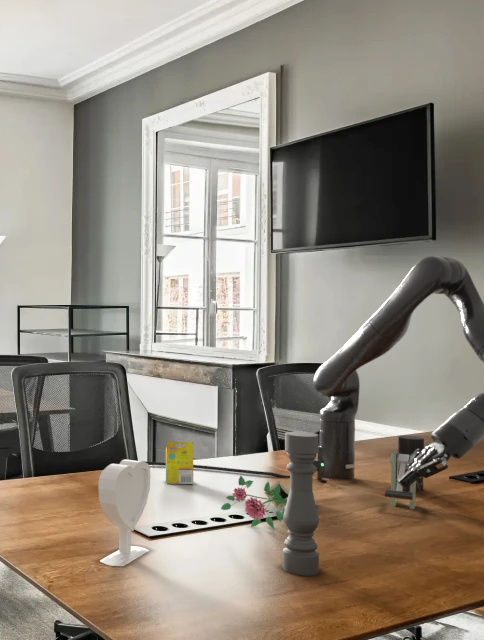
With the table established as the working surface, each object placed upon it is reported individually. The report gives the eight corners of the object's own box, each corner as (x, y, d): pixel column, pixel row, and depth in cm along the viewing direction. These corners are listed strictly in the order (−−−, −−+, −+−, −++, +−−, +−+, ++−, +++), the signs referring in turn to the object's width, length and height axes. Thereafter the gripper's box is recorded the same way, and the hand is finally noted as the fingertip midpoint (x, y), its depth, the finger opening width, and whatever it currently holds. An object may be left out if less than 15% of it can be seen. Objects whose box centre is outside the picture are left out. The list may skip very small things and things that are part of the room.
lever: (412, 502, 166) (412, 494, 165) (385, 499, 169) (384, 490, 168) (417, 463, 178) (417, 455, 177) (391, 460, 181) (391, 452, 180)
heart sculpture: (118, 569, 135) (119, 471, 135) (94, 563, 138) (94, 467, 138) (153, 548, 148) (154, 458, 148) (130, 543, 151) (131, 455, 151)
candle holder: (276, 564, 139) (277, 431, 138) (308, 563, 139) (309, 431, 139) (292, 575, 132) (293, 436, 132) (325, 575, 133) (326, 436, 133)
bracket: (423, 518, 171) (423, 459, 171) (379, 512, 176) (380, 455, 176) (426, 509, 180) (426, 452, 179) (384, 504, 184) (385, 449, 184)
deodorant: (426, 497, 192) (427, 439, 192) (401, 496, 193) (402, 438, 193) (418, 492, 198) (419, 436, 198) (394, 490, 199) (395, 435, 199)
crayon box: (192, 482, 207) (192, 440, 207) (193, 484, 204) (194, 442, 204) (165, 481, 208) (165, 440, 208) (166, 483, 205) (166, 442, 205)
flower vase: (314, 542, 177) (263, 543, 150) (267, 518, 185) (210, 514, 158) (333, 497, 176) (286, 490, 150) (285, 474, 184) (232, 464, 158)
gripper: (434, 416, 173) (378, 467, 175) (461, 425, 160) (400, 479, 162) (458, 440, 172) (402, 490, 174) (487, 450, 159) (425, 504, 161)
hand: (401, 484), depth 168 cm, fingers closed
